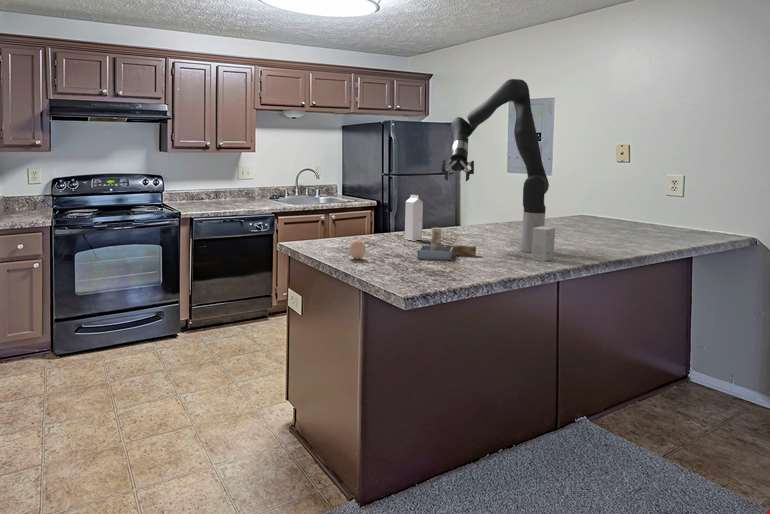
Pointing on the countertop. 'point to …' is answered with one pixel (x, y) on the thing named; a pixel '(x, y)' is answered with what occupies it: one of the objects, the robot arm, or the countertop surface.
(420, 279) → the countertop surface
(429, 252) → the tray
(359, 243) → the egg
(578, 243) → the countertop surface
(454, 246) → the block
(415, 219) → the milk
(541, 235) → the small box
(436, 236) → the dowel
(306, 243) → the countertop surface
